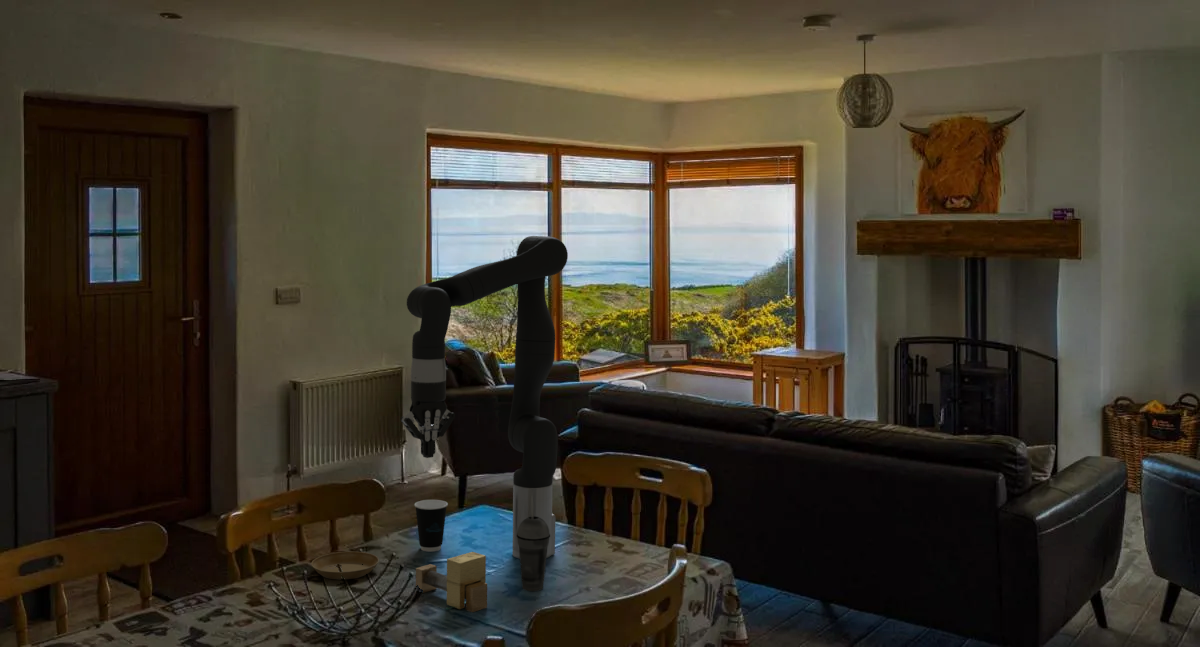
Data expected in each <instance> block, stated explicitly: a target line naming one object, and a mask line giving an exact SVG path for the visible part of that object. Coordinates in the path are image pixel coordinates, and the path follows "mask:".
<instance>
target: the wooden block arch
mask: <svg viewBox="0 0 1200 647" xmlns="http://www.w3.org/2000/svg"><path fill="white" fill-rule="evenodd" d="M486 561H487V556H486V555H485V554H482V553H478V552H476V551H470V552H467V553H463V554H459V555H456V556H453V557H449V558H446V576H447V592H446V605H447V606H449V607H450V606H452V607H455V609H458V610H462V609H464V608H465V609H466V604H465V601H466V599H465V585H467V584H470V583H471V584H474V583H477V582H480V581H481V582H484V583H486V582H487V580H486V578H487V576H486V575H487V574H486V573H487V568H486V567H487V565H486V564H487V562H486Z"/></svg>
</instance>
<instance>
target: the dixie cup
mask: <svg viewBox="0 0 1200 647" xmlns="http://www.w3.org/2000/svg"><path fill="white" fill-rule="evenodd" d="M448 505H449V503H448V502H447V501H445V500H441V499H423V500H420V501H416V502H415V503H414V507H415V514H416V515H415V516H416V523H417V524H416V525H417V533H418V543H419V546H420V550H421V551H424V552H429V553H430V552H438V551H440V550H441V548H442V545H443V540H444V531H445V525H446V524H445V523H446V516H447V507H448Z"/></svg>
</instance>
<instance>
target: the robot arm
mask: <svg viewBox="0 0 1200 647" xmlns="http://www.w3.org/2000/svg"><path fill="white" fill-rule="evenodd" d="M567 263H568V249H567V247H566V245H565V244H564V242H563V241H562V240H560V239H558V238H557V237H554V236H553V237H552V236H548V235H544V236H543V235H529V236H527V237H524V238H523V239H522V240H521V241H520V243H519V245H518V247H517V251H516V254H515V256H512V257H509V258H506V259H501V260H498V261H494V262H489V263H486V264H485V263H484V264H481V265H477V266H474V267H472V268H469V269H467V270H463V271H461V272H459V273H457V274H455V275H453V276H450V277H447V278H442V279H439V280H435V281H431V282H427V283H424V284H421V285H419V286H417V287H415V288H413V290H411V291H410V292H409V294H408V295H407V297H406V307H407V310H408V311H409V313H410V315H413V316H414V317H415V318H418V319H420V320H421V321H420V326H419V330H417V331H415V332H414V334H413V336H412V342H411V343H412V344H411V346H412V347H411V351H412V352H411V353H412V354H411V356H412V358H411V368H410V400H411V404H410V407H409V412H408V413H407V414H406V415H405V416H404V415H402V416H400V422H401V423H402V424H403V426H404V427H405V428H406V429H407V431H408V432H409V433H410V435H411V436H412V437H413V438H415V439H418V440H420V454H421V455H422V456H423V458H425V459H429V458H433V457H434V455H435V454H436V440H437V439H438V438H440V437H444V435H445V434H446V432H447V431H448V429H449V428H450V426H451V425H452V423H453V421H454V420H455V419H456V413H454V412H451V411H450V410H449V409H448V405H447V403H446V399H447V392H446V391H447V388H446V387H447V365H446V358H445V357H446V343H445V340H446V336H447V332H448V329H449V325H450V324H449V323H450V319H451V313H452V307H461V306H462V307H463V306H466V305H470V304H471V303H475V302H476V301H478V300H481V299H483V298H486V297H488V296H490V295H493V294H495V293H497V292H500V291H503V290H505V289H507V288H511V287H513V286H515V285H517V310H516V311H517V312H516V314H517V315H516V332H515V334H516V335H515V348H514V349H515V350H514V351H515V352H514V358H515V359H514V377H513V390H512V391H513V393H512V401H511V408H510V415H509V419H508V420H509V421H508V427H507V437H508V441H509V444H510V446H511V447H512V448H513V449H514V450H515V451H517V452H520V453H523V454H522V466H521V467H520V468H518V469H516V470H515V471H514V473H513V481H512V484H513V485H512V486H513V487H512V488H513V489H512V493H513V494H512V496H513V497H512V556H513V557H514V558H516V559H519V560H520V553H519V545H518V540H517V532H518V528H519V525H520V524H521V522H522V521H523V520H524V519H526V518H528V517H531V496H533V515H534V516H536V517H539V518H541V519H543V520H544V521H545V522H546V523H547V525H548V527H549V532H550V537H549V544H548V547H547V557H546V559H548V558H549V557H551V556H553V555H555V554H556V515H555V514H553V481H554V477H555V476H554V475H555V473H556V470H557V460H558V445H559V444H558V443H559V442H558V441H559V440H558V439H559V438H558V436H559V435H558V431H557V427H556V425H555V424H554V423H553V422H552V421H551V420H549V419H548V418H544V417H541V416H540V415H541V414H540V405H541V404H540V403H541V402H540V401H541V394H542V390H543V386H544V384H545V382H546V380H547V378H548V376H549V374H550V372H551V370H552V368H553V365H554V361H555V351H556V350H555V349H556V330H555V325H554V321H553V319H552V316H551V313H550V311H549V308H548V304H547V300H546V277H552V276H554V275H557V274H559V273H560V272H561V271H563V269H564V268H565V267H566V264H567ZM415 422H416V423H417V425H416V424H415Z"/></svg>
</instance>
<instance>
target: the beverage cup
mask: <svg viewBox="0 0 1200 647" xmlns="http://www.w3.org/2000/svg"><path fill="white" fill-rule="evenodd" d="M549 537H550V532H549V527H548V525H547V523H546V522H545V521H544V520H543V519H541V518H539V517H536V516H534V515H533V496H531V517H528V518H526V519H524V520H523V521H522V522H521V524H520V525H519V528H518V532H517V540H518V545H519V553H520V559H519V561H520V562H519V564H520V577H521V580H520V581H521V585H522V587H521V588H522V590H524V591H527V592H538V591H541V590H543V589H544V582H545V576H546V566H547V558H546V557H547V547H548V544H549Z"/></svg>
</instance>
